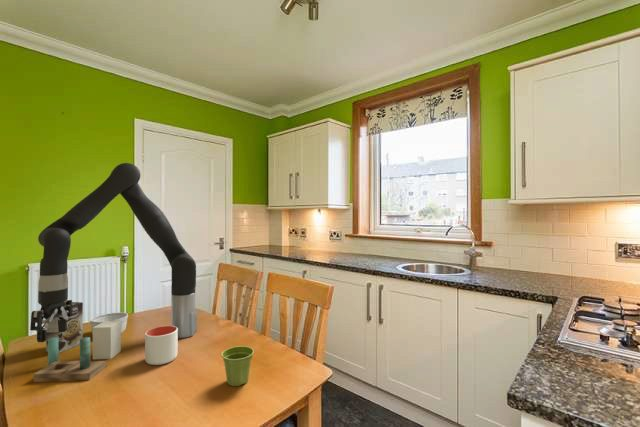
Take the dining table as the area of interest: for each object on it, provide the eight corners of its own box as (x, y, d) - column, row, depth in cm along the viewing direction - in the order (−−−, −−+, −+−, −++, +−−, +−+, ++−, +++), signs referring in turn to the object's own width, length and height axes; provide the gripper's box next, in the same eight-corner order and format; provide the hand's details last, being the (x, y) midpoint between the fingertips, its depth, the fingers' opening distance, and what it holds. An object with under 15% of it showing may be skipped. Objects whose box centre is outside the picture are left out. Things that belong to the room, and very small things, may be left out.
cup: (184, 356, 109) (184, 328, 109) (158, 369, 100) (158, 338, 100) (164, 351, 113) (164, 324, 113) (138, 363, 104) (138, 333, 104)
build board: (80, 367, 101) (80, 360, 101) (61, 380, 93) (61, 372, 93) (54, 368, 100) (54, 361, 100) (33, 381, 92) (33, 373, 92)
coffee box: (59, 353, 112) (59, 308, 112) (45, 352, 113) (45, 307, 113) (83, 343, 121) (83, 302, 121) (70, 342, 122) (70, 301, 122)
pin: (60, 364, 104) (60, 337, 104) (54, 367, 101) (54, 340, 101) (52, 364, 103) (52, 337, 104) (45, 368, 101) (46, 340, 101)
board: (106, 367, 102) (106, 333, 102) (89, 379, 94) (89, 343, 94) (80, 367, 101) (80, 334, 101) (61, 380, 93) (62, 344, 93)
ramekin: (120, 325, 140) (120, 310, 141) (133, 331, 133) (133, 315, 133) (85, 334, 130) (85, 318, 130) (97, 342, 122) (97, 324, 122)
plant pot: (227, 373, 98) (227, 345, 98) (257, 373, 97) (257, 345, 97) (216, 389, 88) (216, 359, 88) (249, 390, 88) (249, 359, 88)
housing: (120, 351, 113) (120, 321, 113) (110, 358, 107) (110, 327, 107) (103, 351, 113) (103, 321, 113) (92, 359, 107) (92, 327, 107)
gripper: (58, 283, 110) (57, 329, 109) (22, 293, 95) (21, 345, 95) (80, 283, 110) (79, 328, 110) (47, 292, 96) (46, 345, 96)
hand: (52, 336), depth 102 cm, fingers open, 8 cm apart
